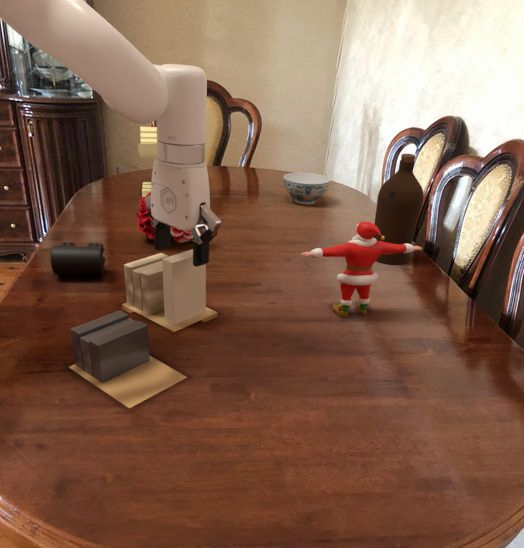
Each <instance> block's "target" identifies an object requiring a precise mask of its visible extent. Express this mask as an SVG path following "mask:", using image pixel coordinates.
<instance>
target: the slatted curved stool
mask: <svg viewBox="0 0 524 548" xmlns="http://www.w3.org/2000/svg"><path fill="white" fill-rule="evenodd" d="M139 129H140V133H139V134H140V136H139V137H140V141H139V143H137V151H138V152H137V153H138V156H139V158H140V159H154V160H155V159H157V126H140V127H139ZM151 182H152V181H142V184H141V186H142V187H141V196H142V197H145V196H146V195H147V194H148V193H149V192H150V191H151ZM142 197H141V198H142Z"/></svg>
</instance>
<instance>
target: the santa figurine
mask: <svg viewBox="0 0 524 548" xmlns="http://www.w3.org/2000/svg"><path fill="white" fill-rule="evenodd" d="M354 234H355V235H354V236H352V238H351V240H348V241H347V242H345V243H343V244H338V245H334V246H331V247H325V248H321V247H316V248H313V249H311V250H310V251H303V252H301V253H300V256H302V257H305V258H306V257H312V258H314V259H321V258H344V259H345V263H346V269H345V270H344V271H343V272H342V273H338V274H337V276H336V281H337V282H338V283H339V284H340V286H339V287H340V288H339V289H340V291H341V292H340V293H341V299H340V304H338V303H334V304H332V306H331V309H332V312H333V314H336V315H338V316H340V317H341V318H348V316H349V309H350V308H351V306H352V305H353V302H354V301H353V299H352V297H353V295H354V292H355V291H356V292H357V295H358V299H357V304H356V309H357V311H358V313H359V315H360V316H363V317H364V316H367V315H368V310H367V309H368V305H369V304H370V301H371V298H370V292H371V285H373V284H375V283H376V282H377V281H378V279H379V274H378V272H377V271H375V270H373V269H372V268H373V265H374V264H375V263H376V262H377V261H376V260H377V258H378V257H379V256H380V254H381V255H383V254H394V253H401V252H403V253H410V254H411V253H412V252H414V251H422V250H423V247H422V246H419V245H413V244H412V245H411V244H392V243H386V242H382V241H377V240H376V239H375V238H373V237H374V236H375V234H377V235H379V236H381V239H382V240H384V236H382V235H381V233H380V231H379V229H378V227H377V226H376V225H375V223H372V222H370V221H361V222H359V223H357V225H356V226H355V231H354Z"/></svg>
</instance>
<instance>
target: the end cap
mask: <svg viewBox="0 0 524 548" xmlns="http://www.w3.org/2000/svg"><path fill="white" fill-rule="evenodd" d="M104 252H105V247H104V244H103V243H101V242H88V243H87V245H86V246H77V245H76V242H72V241H70V242H67V241H62V242H61V243H60V244H59V245H53V246H52V247H51V249H50V266H51V270H52V273H53V274H54V275H56V276H58V277H64V278H66V277H67V278H69V277H70V278H71V277H72V278H103V277H104V276H105V272H106V267H105V263H106V260H107V259H106V256H104Z"/></svg>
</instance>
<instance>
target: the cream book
mask: <svg viewBox="0 0 524 548" xmlns="http://www.w3.org/2000/svg"><path fill="white" fill-rule="evenodd" d="M162 265H163V288H164V311H165V321H167V322H169V323H171V324H173V325H176V324H179V323H181V322H183V321H185V320H188V319H190V318H192V317H195V316H197V315H199V314H201V313H204V312H206V307H207V264H204V265H201V266H198V267H196V266H194V265H193V248H191V249H189V250H185V251H182V252H179V253H176V254H173V255H169V257H166V258H163V259H162Z"/></svg>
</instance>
